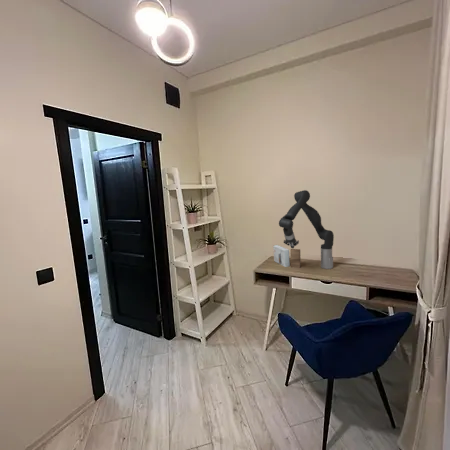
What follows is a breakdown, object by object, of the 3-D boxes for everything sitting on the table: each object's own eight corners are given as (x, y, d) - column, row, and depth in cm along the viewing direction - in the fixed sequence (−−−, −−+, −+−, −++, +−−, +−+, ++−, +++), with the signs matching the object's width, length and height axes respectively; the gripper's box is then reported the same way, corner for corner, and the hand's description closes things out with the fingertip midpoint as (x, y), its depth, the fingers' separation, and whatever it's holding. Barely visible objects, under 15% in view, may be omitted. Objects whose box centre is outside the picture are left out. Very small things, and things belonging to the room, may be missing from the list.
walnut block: (299, 267, 227) (299, 250, 224) (290, 267, 230) (290, 249, 228) (300, 266, 230) (300, 249, 228) (291, 265, 234) (291, 248, 231)
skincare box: (273, 261, 251) (273, 245, 249) (278, 260, 253) (278, 244, 251) (284, 267, 231) (284, 250, 229) (290, 266, 233) (289, 249, 231)
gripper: (298, 232, 204) (301, 244, 216) (282, 231, 210) (285, 243, 222) (297, 240, 200) (300, 251, 212) (280, 239, 206) (284, 250, 218)
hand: (292, 247), depth 217 cm, fingers closed
